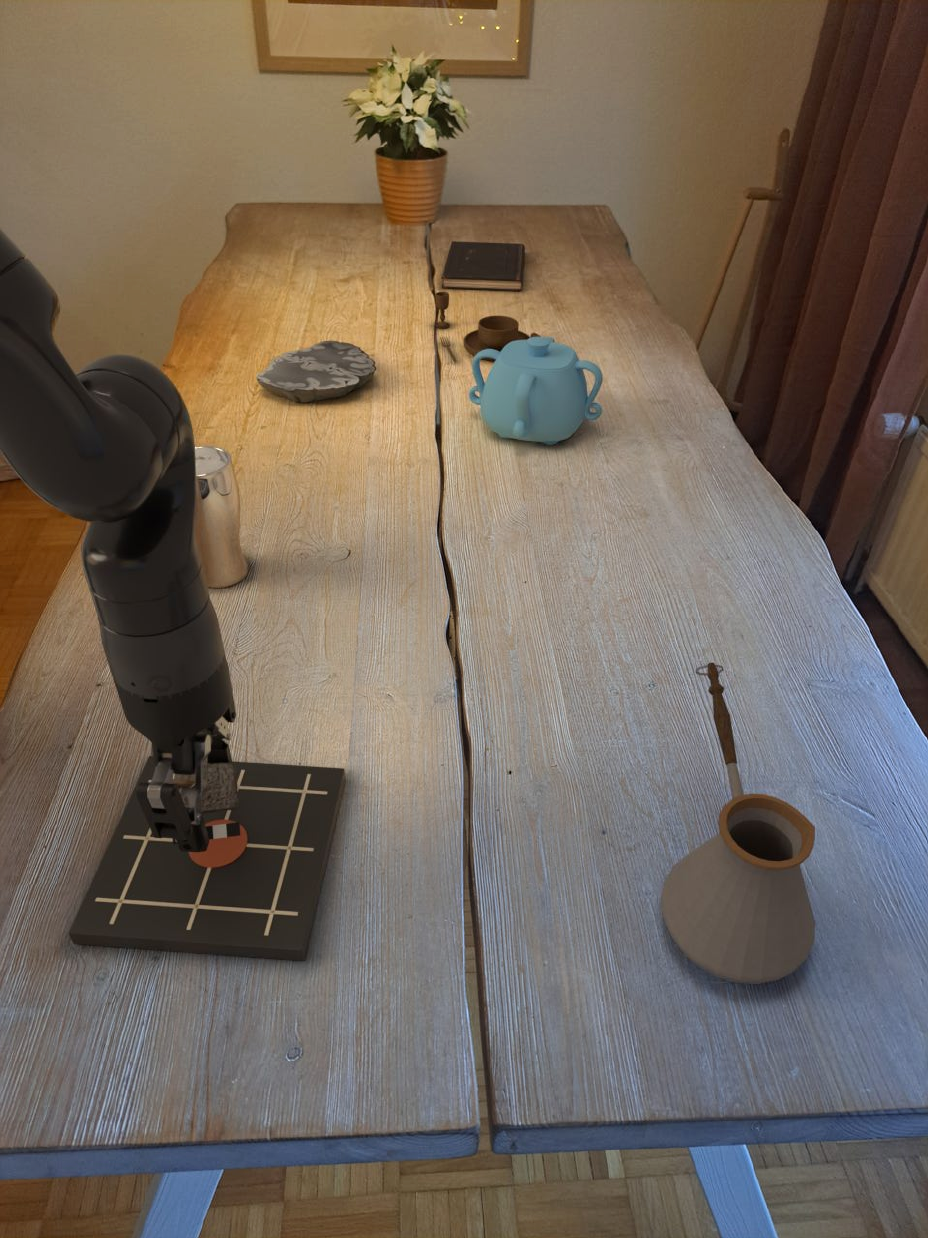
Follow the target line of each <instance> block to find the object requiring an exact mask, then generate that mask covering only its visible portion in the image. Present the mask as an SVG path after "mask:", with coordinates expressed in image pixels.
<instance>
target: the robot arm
mask: <svg viewBox="0 0 928 1238" xmlns="http://www.w3.org/2000/svg"><path fill="white" fill-rule="evenodd" d="M60 313H61V302H60V299H59V296H58V293H57V292H56V290H55V289H54V287H53V285H52V284H51V283H50V282H49V280H48V279H47V277H46V276H45V275H44V274H43V273H42V272H41V271H40V269H39V268H38V267H37V266H36V265H35V264H34V263H33V261H31V260H30V258H28V257H27V258H26V254H25V253H24V252H23V250H21V248H19V246H18V245H17V244H16V243H15V242H14V241H13V240H12V239H11V238H10V237H9V236H8V234H6V232H5V231H4V230H3V229H2V228H1V227H0V453H1V454H2V456H3V457H4V459H5V461H6V462H7V463H8V464H9V466H10V467H11V468H12V470H13V471H14V472H15V474H16V475H17V476H18V477H19V479H21V482H23V483H24V484H25V485H26V486H27V487H28V489H29V490H31V491H32V492H33V493H34V494H35V495H36V496H37V497H39V498H40V500H42V501H44V502H45V503H46V504H48V505H49V506H51V507H52V508H54V509H55V510H57V511H59V512H61V513H63V514H65V515H67V516H69V517H72V518H74V519H77V520H80V521H84V522H88V523H89V524H88V527H87V530H86V532H85V534H84V536H83V539H82V542H81V547H80V556H81V557H80V558H81V565H82V570H83V574H84V578H85V581H86V584H87V586H88V587H87V588H88V590H89V593H90V596H91V599H92V603H93V605H94V609H95V612H96V615H97V619H98V625H99V631H100V639H101V645H102V648H103V652H104V654H105V657H106V661H107V664H108V667H109V670H110V673H111V676H112V679H113V683H114V686H115V688H116V692H117V695H118V699H119V702H120V704H121V707H122V711H123V714H124V718H125V719H126V721H127V722H128V724H129V725H130V726H131V727H132V728H133V729H134V730H135V731H137V732H138V733H139V734H141V735H142V736H144V737H145V738H146V739H147V740H148V741H150V743H151V756H152V758H153V763H154V765H155V773H154V776H153V778H152V781H151V782H139V784H138V786H137V789H136V796H137V799H138V801H139V804H140V806H141V808H142V811H143V813H144V815H145V818H146V820H147V822H148V825H149V827H150V829H151V832H152V834H153V836H154V838H173V839H176V841H177V844H178V847H179V850H180V851H185V852H204V851H206V850H207V847H208V845H209V838H208V834H207V830H206V827H205V823H204V819H203V816H202V814H201V795H202V794H203V792H204V791H205V790H206V789H207V787H208V771H207V763H211V764H212V763H221V762H223V763H227V762H228V763H233V762H232V761H233V758H232V754H231V749H230V743H231V741H232V732H231V731H232V730H231V729H230V728H229V724H233V723H235V720H236V719H237V711H236V705H235V699H234V692H233V684H232V680H231V674H230V668H229V661H228V660H227V656H226V651H225V646H224V641H223V637H222V632H221V627H220V624H219V623H220V622H219V619H218V615H217V612H216V610H215V607H214V604H213V602H212V600H211V597H210V593H209V589H208V588H209V587H207V584H206V579H205V574H204V570H203V565H202V560H201V556H200V552H199V549H198V546H197V542H196V535H195V518H196V458H195V447H196V445H195V436H194V430H193V429H194V428H193V424H192V420H191V416H190V414H189V410H188V408H187V404H186V403H185V400H184V399H183V397H182V395H181V393H180V392H179V390H178V388H177V386H176V385H175V384H174V382H173V381H172V380H171V379H170V377H169V376H168V375H167V374H166V373H164V372H163V371H162V369H160V368H159V367H158V366H156V365H155V364H153V363H152V362H150V361H148V360H145V359H144V358H141V357H138V356H135V355H131V354H121V353H119V354H118V353H115V354H109V355H105V356H102V357H98V358H97V359H95V360H93V361H91V362H89V363H88V364H86V365H84V367H83V368H81V369H80V370H79V371H78V372H76V373H75V371H74V369H73V368H72V367H71V365H70V364H69V362H68V361H67V359H66V358H65V356H64V355H63V353H62V351H61V349H60V348H59V346H58V345H57V342H56V341H55V337H54V332H55V328H56V325H57V323H58V320H59V317H60ZM173 774H181V775H193V774H195V781H185V780H174V779H173ZM181 796H186V797H188V798H189V808H186V807H185V805H184V802H183V800H182V797H181Z"/></svg>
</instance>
